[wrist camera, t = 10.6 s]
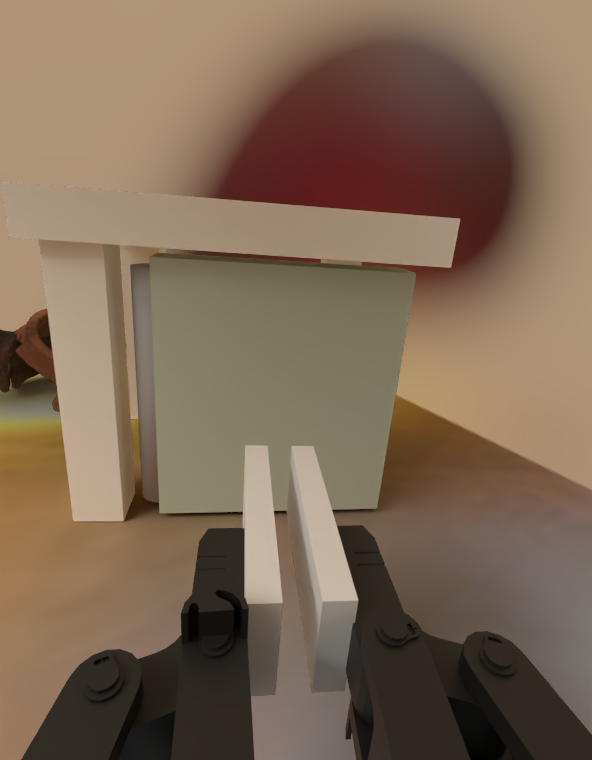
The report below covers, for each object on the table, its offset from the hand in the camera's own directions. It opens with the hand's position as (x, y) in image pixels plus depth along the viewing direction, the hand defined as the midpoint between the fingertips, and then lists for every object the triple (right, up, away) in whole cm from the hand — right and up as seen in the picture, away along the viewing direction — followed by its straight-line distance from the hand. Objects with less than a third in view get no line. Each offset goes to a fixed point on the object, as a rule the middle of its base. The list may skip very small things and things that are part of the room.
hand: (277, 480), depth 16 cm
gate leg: (-1, -3, +10) cm, 10 cm away
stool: (-3, -1, +15) cm, 16 cm away
